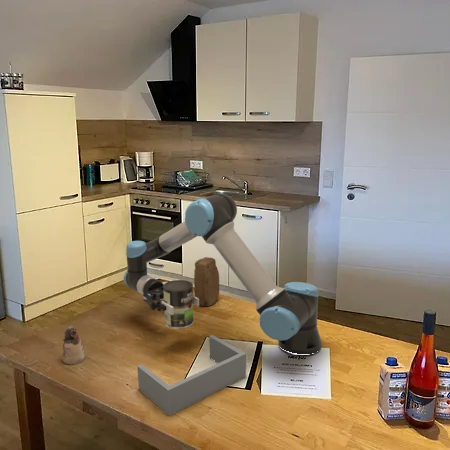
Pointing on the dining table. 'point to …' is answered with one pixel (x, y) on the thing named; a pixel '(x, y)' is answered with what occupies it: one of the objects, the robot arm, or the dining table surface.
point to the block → (206, 281)
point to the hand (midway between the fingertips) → (185, 306)
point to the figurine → (72, 347)
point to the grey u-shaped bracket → (195, 379)
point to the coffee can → (179, 303)
